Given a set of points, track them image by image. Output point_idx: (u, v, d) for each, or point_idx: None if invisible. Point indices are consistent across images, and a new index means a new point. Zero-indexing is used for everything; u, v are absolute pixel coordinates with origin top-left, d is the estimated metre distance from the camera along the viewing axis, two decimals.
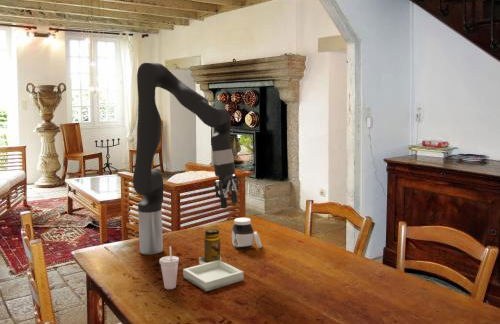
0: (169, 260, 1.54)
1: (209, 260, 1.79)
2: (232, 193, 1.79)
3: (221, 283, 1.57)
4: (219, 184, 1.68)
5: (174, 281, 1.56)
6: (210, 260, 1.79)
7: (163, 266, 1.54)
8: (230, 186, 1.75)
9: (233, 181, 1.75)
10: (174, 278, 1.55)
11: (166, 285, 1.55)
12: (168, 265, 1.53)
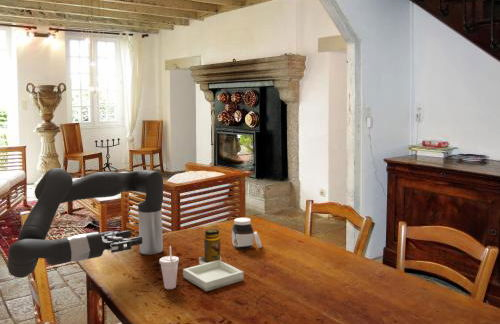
0: (169, 260, 1.54)
1: (209, 260, 1.79)
2: (119, 236, 1.48)
3: (221, 283, 1.57)
4: (116, 245, 1.36)
5: (174, 281, 1.56)
6: (210, 260, 1.79)
7: (163, 266, 1.54)
8: (113, 237, 1.44)
9: (106, 234, 1.43)
10: (174, 278, 1.55)
11: (166, 285, 1.55)
12: (168, 265, 1.53)
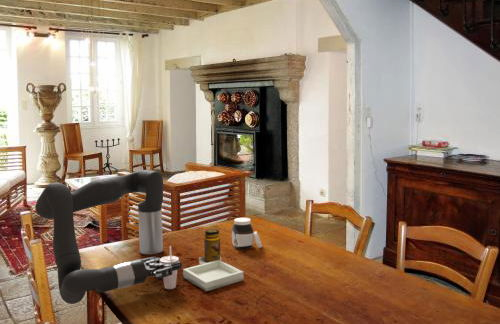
0: (169, 260, 1.54)
1: (209, 260, 1.79)
2: None
3: (221, 283, 1.57)
4: (160, 272, 1.47)
5: (174, 281, 1.56)
6: (210, 260, 1.79)
7: None
8: None
9: (148, 260, 1.53)
10: (174, 278, 1.55)
11: (166, 285, 1.55)
12: None
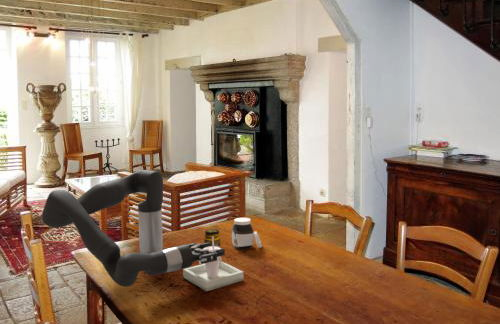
0: (212, 250, 1.61)
1: None
2: (201, 248, 1.64)
3: (221, 283, 1.57)
4: (205, 257, 1.52)
5: (217, 270, 1.62)
6: None
7: None
8: (198, 249, 1.59)
9: (192, 246, 1.59)
10: (217, 267, 1.62)
11: (209, 274, 1.62)
12: None
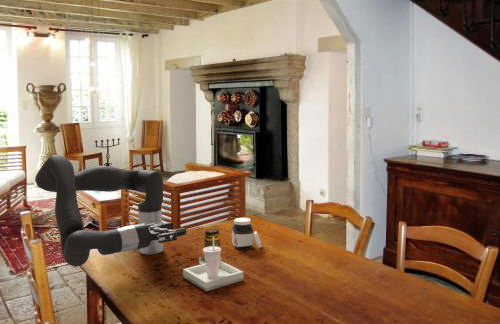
0: (212, 250, 1.61)
1: None
2: None
3: (221, 283, 1.57)
4: (163, 236, 1.43)
5: (217, 270, 1.62)
6: None
7: (207, 256, 1.60)
8: None
9: (152, 225, 1.50)
10: (217, 267, 1.62)
11: (209, 274, 1.62)
12: (212, 255, 1.59)
